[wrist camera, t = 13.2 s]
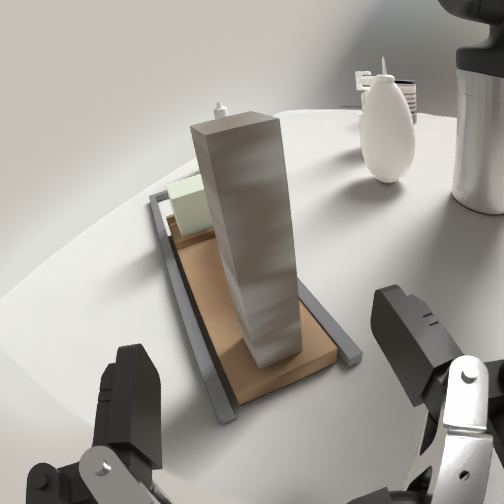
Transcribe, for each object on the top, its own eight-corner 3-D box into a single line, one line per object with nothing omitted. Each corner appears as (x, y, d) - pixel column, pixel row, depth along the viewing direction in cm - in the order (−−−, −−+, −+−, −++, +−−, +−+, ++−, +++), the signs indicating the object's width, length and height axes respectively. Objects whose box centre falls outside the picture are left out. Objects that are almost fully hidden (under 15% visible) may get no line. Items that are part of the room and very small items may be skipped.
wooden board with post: (224, 215, 40) (198, 93, 31) (336, 361, 20) (335, 113, 11) (171, 233, 38) (135, 110, 30) (239, 405, 18) (154, 156, 10)
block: (216, 210, 38) (207, 171, 35) (228, 227, 34) (219, 184, 31) (176, 223, 37) (165, 184, 34) (184, 242, 33) (171, 199, 30)
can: (385, 125, 70) (382, 79, 63) (371, 117, 79) (368, 76, 72) (424, 125, 68) (423, 81, 62) (406, 116, 78) (405, 77, 71)
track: (209, 182, 51) (208, 177, 50) (360, 361, 20) (362, 352, 19) (150, 201, 49) (148, 196, 48) (221, 424, 17) (217, 418, 17)
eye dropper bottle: (247, 158, 59) (236, 97, 52) (235, 168, 55) (223, 103, 48) (226, 158, 61) (215, 100, 54) (213, 169, 57) (200, 106, 50)
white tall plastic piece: (363, 142, 59) (358, 70, 51) (397, 145, 56) (394, 71, 47) (357, 152, 54) (351, 72, 46) (394, 155, 51) (392, 73, 43)
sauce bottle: (364, 192, 40) (357, 56, 30) (358, 171, 46) (351, 56, 36) (418, 192, 38) (419, 58, 28) (406, 171, 44) (404, 57, 34)
